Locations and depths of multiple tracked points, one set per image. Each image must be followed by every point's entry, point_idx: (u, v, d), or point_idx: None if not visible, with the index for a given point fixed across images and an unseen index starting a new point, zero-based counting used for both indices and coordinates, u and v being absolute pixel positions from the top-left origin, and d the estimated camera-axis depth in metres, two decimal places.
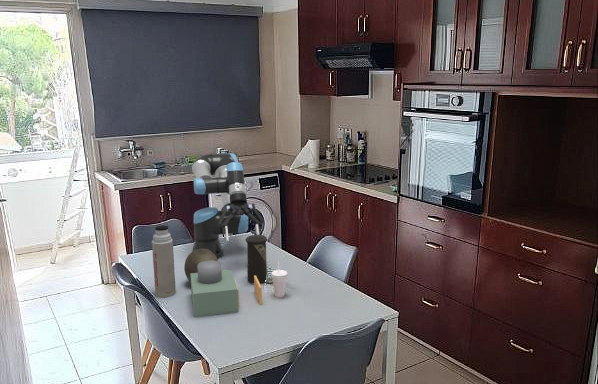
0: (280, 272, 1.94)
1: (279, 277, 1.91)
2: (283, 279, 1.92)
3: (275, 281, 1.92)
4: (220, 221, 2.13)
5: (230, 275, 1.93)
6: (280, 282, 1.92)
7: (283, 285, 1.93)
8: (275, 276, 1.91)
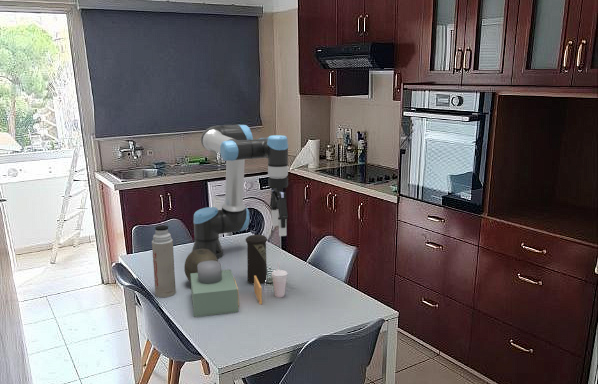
0: (280, 272, 1.94)
1: (279, 277, 1.91)
2: (283, 279, 1.92)
3: (275, 281, 1.92)
4: None
5: (230, 275, 1.93)
6: (280, 282, 1.92)
7: (283, 285, 1.93)
8: (275, 276, 1.91)
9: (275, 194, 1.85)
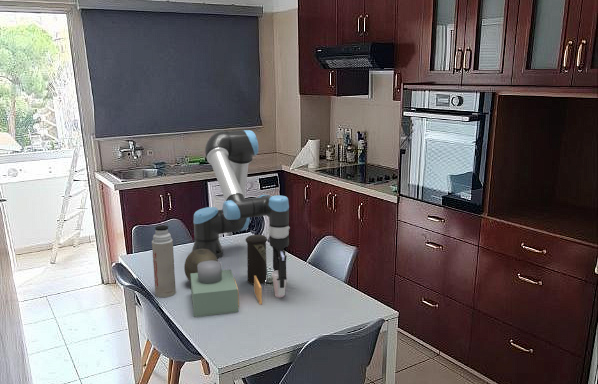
0: None
1: None
2: None
3: (275, 281, 1.92)
4: None
5: (230, 275, 1.93)
6: None
7: None
8: (275, 276, 1.91)
9: (276, 253, 1.90)
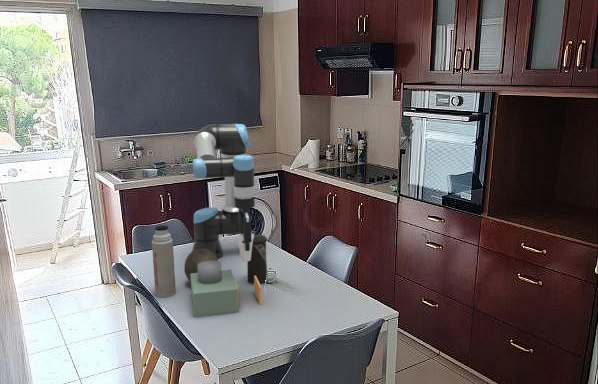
0: None
1: None
2: None
3: (241, 244, 1.85)
4: None
5: (230, 275, 1.93)
6: None
7: None
8: (240, 239, 1.84)
9: (241, 215, 1.83)
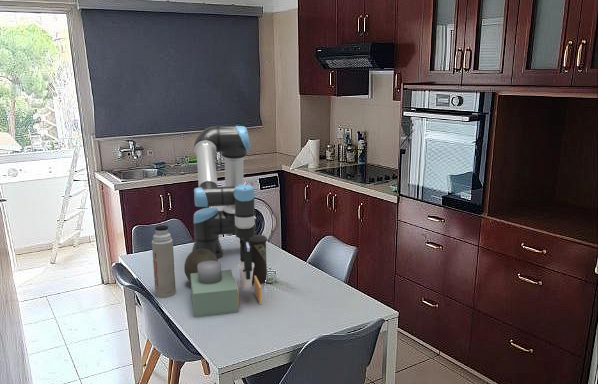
0: None
1: None
2: None
3: (241, 273, 1.88)
4: (251, 266, 1.84)
5: (230, 275, 1.93)
6: None
7: None
8: (241, 267, 1.87)
9: (242, 244, 1.85)
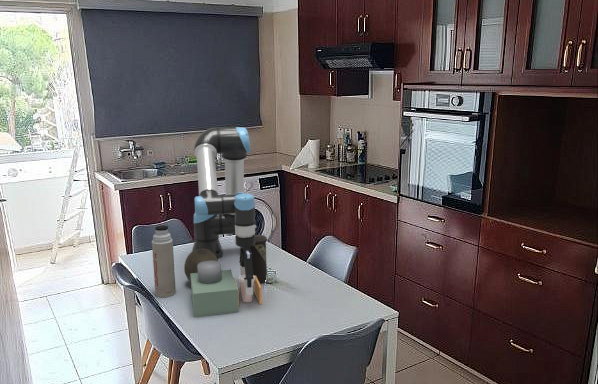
0: None
1: None
2: None
3: (242, 285, 1.88)
4: (252, 274, 1.82)
5: (230, 275, 1.93)
6: None
7: None
8: (242, 280, 1.87)
9: (242, 252, 1.86)
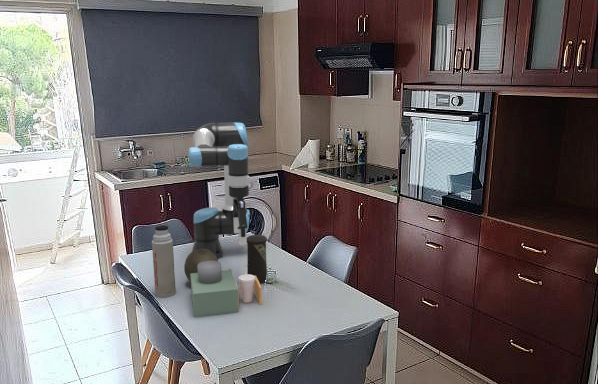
0: (247, 277, 1.89)
1: (246, 282, 1.87)
2: (250, 284, 1.88)
3: (242, 286, 1.88)
4: (246, 223, 1.81)
5: (230, 275, 1.93)
6: (247, 287, 1.87)
7: (250, 290, 1.89)
8: (242, 281, 1.87)
9: (235, 203, 1.85)
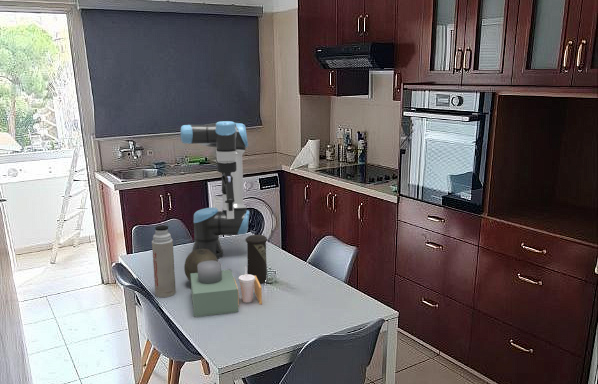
0: (247, 277, 1.89)
1: (246, 282, 1.87)
2: (250, 284, 1.88)
3: (242, 286, 1.88)
4: (233, 197, 1.86)
5: (230, 275, 1.93)
6: (247, 287, 1.87)
7: (250, 290, 1.89)
8: (242, 281, 1.87)
9: (223, 178, 1.90)
